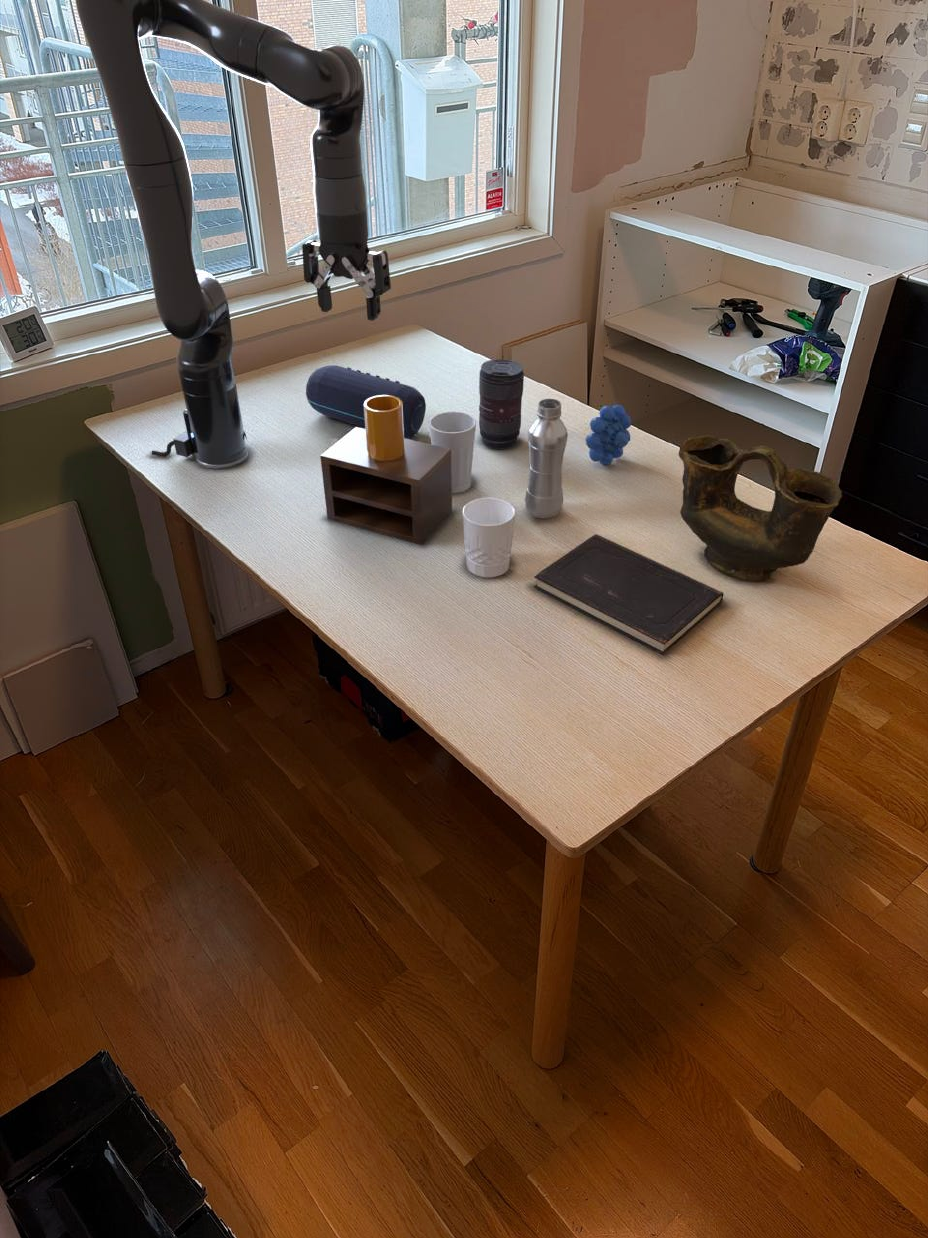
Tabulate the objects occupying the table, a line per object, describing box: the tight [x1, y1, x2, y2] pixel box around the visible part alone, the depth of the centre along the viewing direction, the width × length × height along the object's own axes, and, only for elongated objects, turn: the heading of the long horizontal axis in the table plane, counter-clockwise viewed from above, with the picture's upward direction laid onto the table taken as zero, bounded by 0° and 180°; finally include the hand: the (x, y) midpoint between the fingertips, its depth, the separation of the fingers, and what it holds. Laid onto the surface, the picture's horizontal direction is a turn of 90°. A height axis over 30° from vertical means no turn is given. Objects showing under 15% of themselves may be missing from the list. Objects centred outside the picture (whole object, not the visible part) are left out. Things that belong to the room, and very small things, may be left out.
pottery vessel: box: [678, 434, 843, 582], centre depth 139 cm, size 25×11×20 cm, turn 49°
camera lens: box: [478, 358, 525, 450], centre depth 171 cm, size 8×8×15 cm
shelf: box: [319, 426, 453, 546], centre depth 152 cm, size 18×11×12 cm, turn 64°
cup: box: [428, 411, 477, 494], centre depth 160 cm, size 8×8×12 cm
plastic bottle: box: [524, 398, 569, 519], centre depth 150 cm, size 6×7×20 cm
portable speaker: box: [305, 364, 427, 439], centre depth 178 cm, size 25×10×10 cm, turn 58°
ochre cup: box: [364, 395, 404, 461], centre depth 146 cm, size 6×6×8 cm
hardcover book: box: [533, 533, 725, 656], centre depth 138 cm, size 16×23×2 cm
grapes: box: [585, 403, 632, 466], centre depth 165 cm, size 12×7×12 cm, turn 133°
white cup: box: [462, 497, 516, 578], centre depth 141 cm, size 8×8×10 cm
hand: (349, 314), depth 146 cm, fingers open, 8 cm apart
